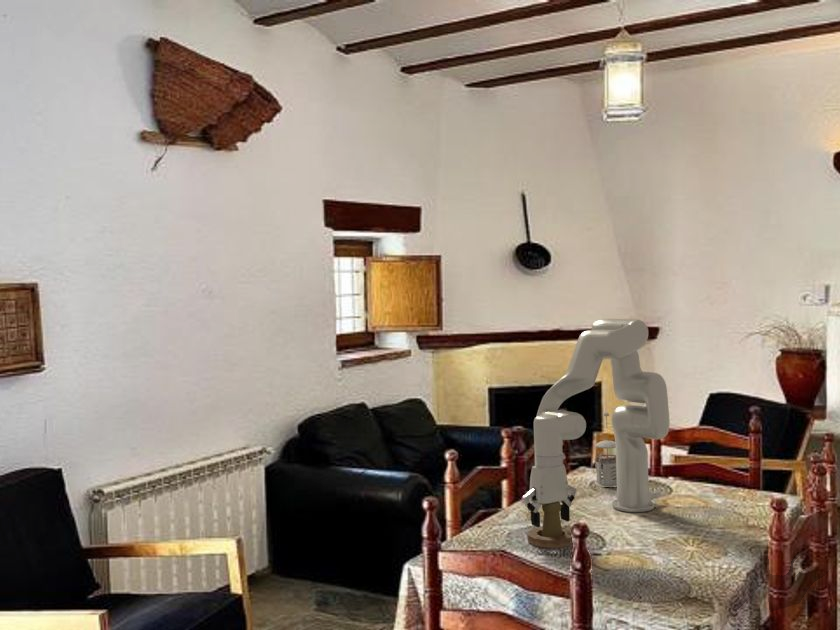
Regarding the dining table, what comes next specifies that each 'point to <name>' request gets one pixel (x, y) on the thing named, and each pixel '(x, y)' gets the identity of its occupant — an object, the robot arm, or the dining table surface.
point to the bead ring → (549, 538)
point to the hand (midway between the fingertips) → (550, 522)
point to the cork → (551, 520)
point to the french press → (606, 464)
